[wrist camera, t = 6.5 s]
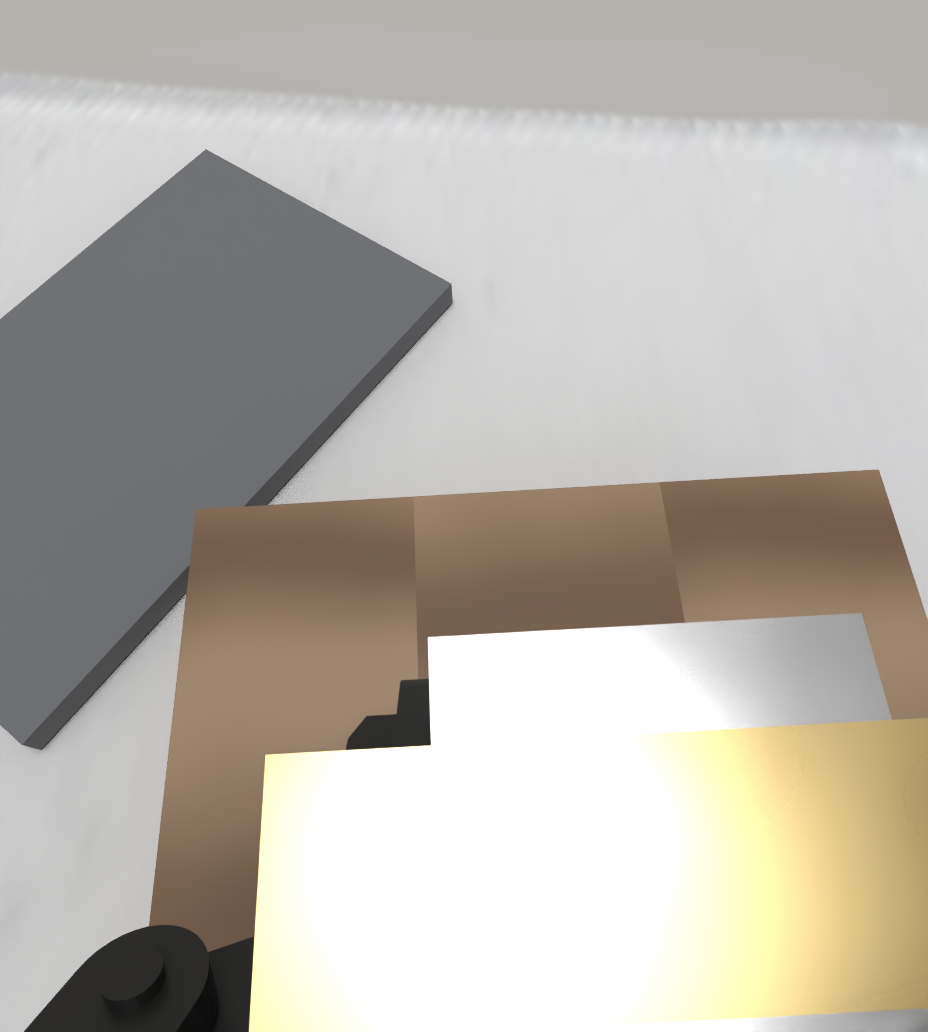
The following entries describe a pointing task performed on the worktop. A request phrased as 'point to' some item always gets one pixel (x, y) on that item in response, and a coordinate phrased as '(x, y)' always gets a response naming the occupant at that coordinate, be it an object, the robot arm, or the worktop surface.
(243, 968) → the robot arm
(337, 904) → the t key
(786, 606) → the socket block
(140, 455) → the slate mat
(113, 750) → the worktop surface
